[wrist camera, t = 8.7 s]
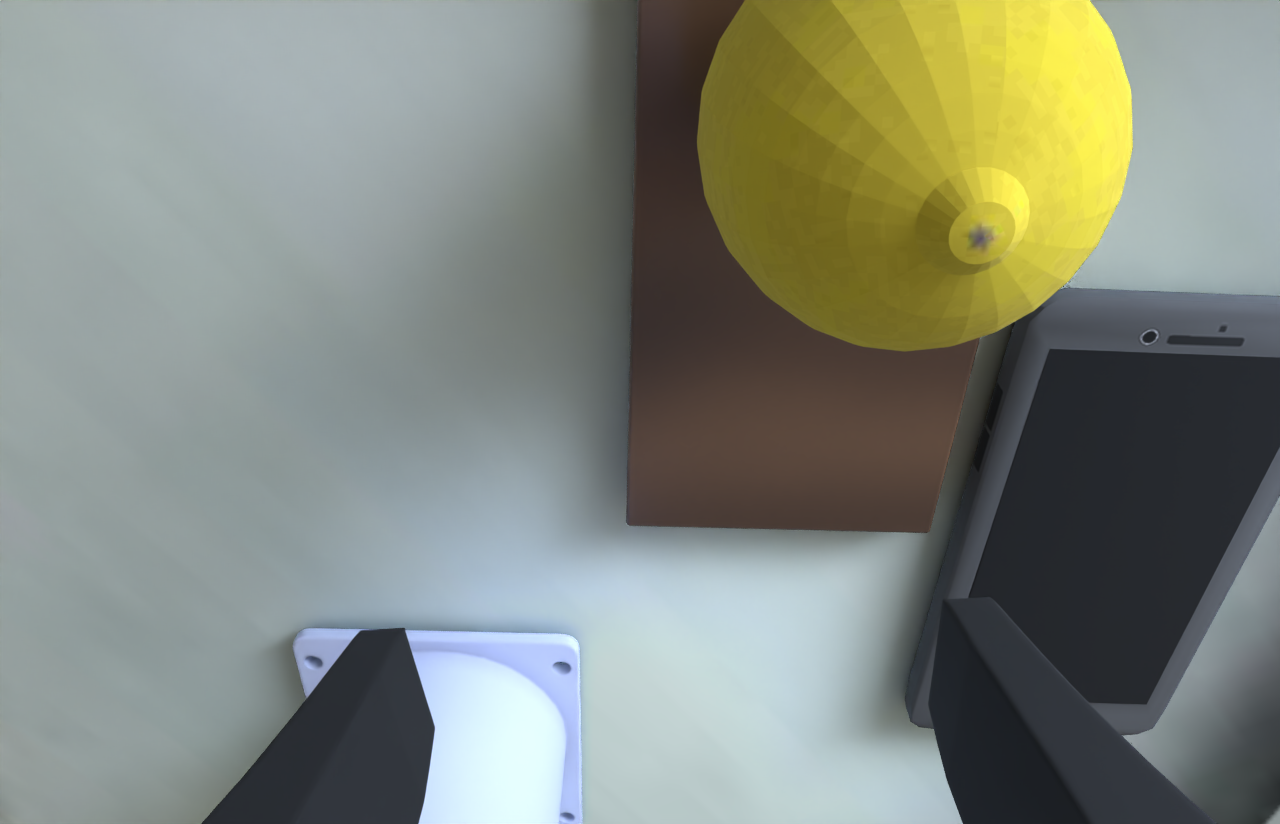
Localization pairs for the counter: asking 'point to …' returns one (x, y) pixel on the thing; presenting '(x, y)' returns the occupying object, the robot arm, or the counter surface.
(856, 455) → the back board
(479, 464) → the counter surface
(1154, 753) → the counter surface
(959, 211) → the lemon
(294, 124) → the counter surface
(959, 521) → the cell phone
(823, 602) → the counter surface
